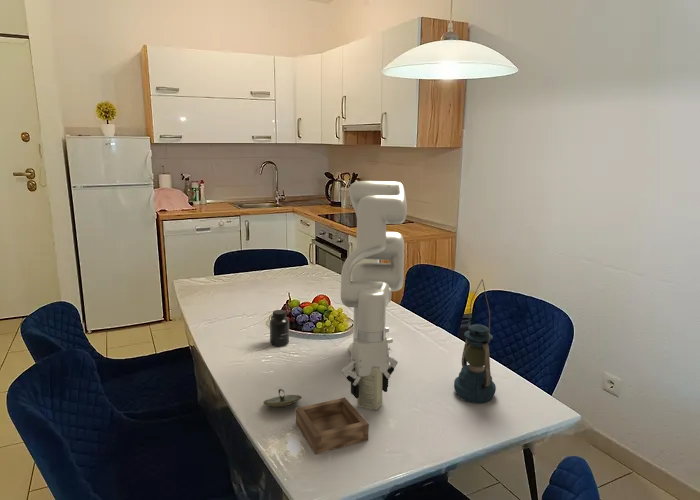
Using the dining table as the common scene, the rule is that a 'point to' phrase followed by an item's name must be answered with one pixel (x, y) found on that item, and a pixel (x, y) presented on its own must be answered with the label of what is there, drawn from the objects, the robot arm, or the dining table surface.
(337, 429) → the wooden tray
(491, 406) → the dining table surface
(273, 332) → the supplement bottle
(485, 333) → the lantern
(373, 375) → the skincare box
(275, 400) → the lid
